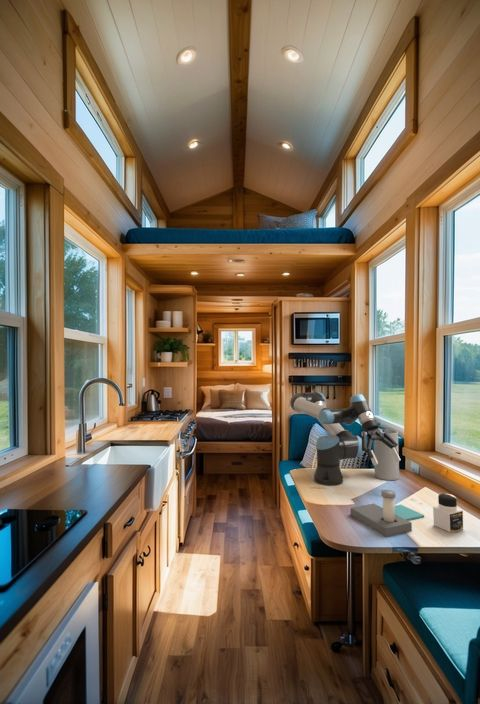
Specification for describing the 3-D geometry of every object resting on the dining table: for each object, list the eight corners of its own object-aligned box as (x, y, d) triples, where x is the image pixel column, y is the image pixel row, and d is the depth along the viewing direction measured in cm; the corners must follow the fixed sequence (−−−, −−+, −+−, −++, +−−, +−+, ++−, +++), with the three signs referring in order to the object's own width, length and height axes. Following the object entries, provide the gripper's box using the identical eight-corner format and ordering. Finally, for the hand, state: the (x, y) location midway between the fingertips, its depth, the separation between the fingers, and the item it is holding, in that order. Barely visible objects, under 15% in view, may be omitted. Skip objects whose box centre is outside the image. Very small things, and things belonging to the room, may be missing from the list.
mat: (379, 510, 152) (379, 508, 152) (401, 506, 156) (401, 504, 156) (401, 522, 140) (401, 520, 140) (424, 517, 145) (424, 515, 145)
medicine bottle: (450, 533, 131) (449, 500, 131) (433, 525, 137) (432, 493, 138) (463, 529, 134) (462, 496, 134) (446, 521, 140) (445, 490, 141)
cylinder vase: (403, 480, 190) (401, 433, 191) (379, 480, 190) (378, 433, 191) (393, 473, 202) (392, 429, 203) (371, 473, 202) (370, 429, 203)
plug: (379, 526, 137) (378, 490, 138) (389, 524, 139) (388, 488, 139) (388, 532, 132) (387, 495, 133) (399, 529, 134) (398, 493, 135)
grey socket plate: (350, 515, 147) (350, 507, 148) (373, 510, 152) (373, 503, 152) (386, 536, 129) (386, 528, 129) (411, 530, 133) (411, 522, 133)
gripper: (351, 420, 174) (370, 462, 162) (391, 417, 183) (412, 456, 171) (344, 427, 180) (361, 468, 168) (383, 424, 189) (402, 463, 176)
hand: (387, 462), depth 169 cm, fingers open, 13 cm apart
